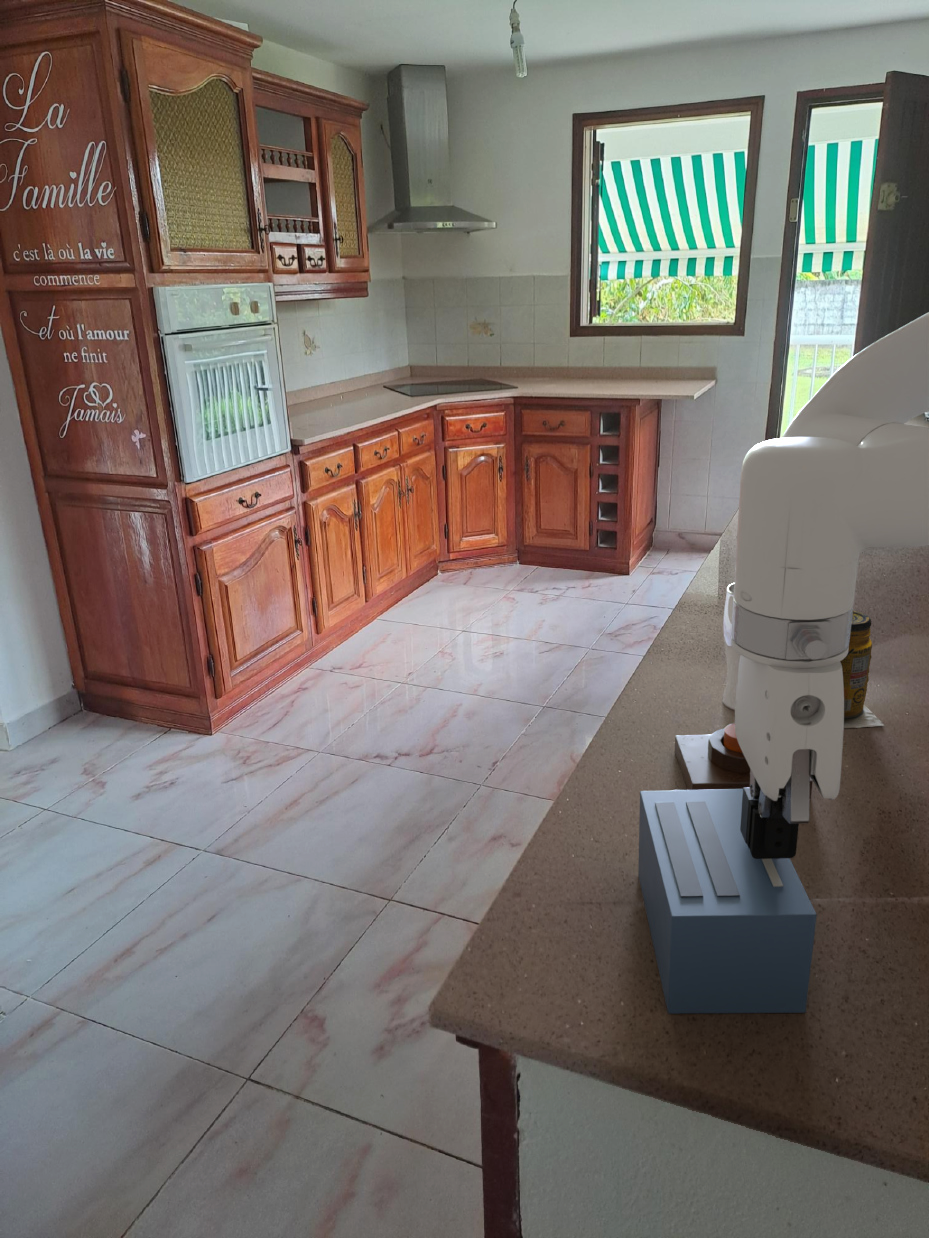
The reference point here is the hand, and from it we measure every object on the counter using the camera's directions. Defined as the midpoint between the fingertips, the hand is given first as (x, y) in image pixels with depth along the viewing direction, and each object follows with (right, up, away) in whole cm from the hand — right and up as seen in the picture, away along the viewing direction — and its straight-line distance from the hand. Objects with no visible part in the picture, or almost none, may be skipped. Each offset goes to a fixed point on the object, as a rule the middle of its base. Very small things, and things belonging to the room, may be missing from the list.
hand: (770, 851), depth 66 cm
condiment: (+22, +6, +40) cm, 46 cm away
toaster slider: (0, 0, +3) cm, 3 cm away
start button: (+6, +4, +27) cm, 28 cm away
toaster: (-3, -9, +6) cm, 11 cm away
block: (+7, +1, +29) cm, 29 cm away
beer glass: (+12, +7, +44) cm, 46 cm away
